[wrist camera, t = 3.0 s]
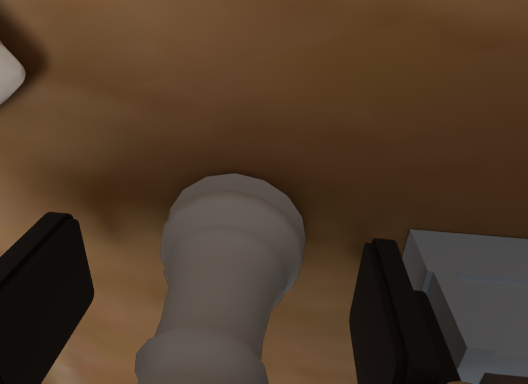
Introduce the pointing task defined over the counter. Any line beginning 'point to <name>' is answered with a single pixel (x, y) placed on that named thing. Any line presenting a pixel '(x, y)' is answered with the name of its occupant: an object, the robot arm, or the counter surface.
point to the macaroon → (9, 74)
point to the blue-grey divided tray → (476, 300)
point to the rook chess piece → (222, 281)
